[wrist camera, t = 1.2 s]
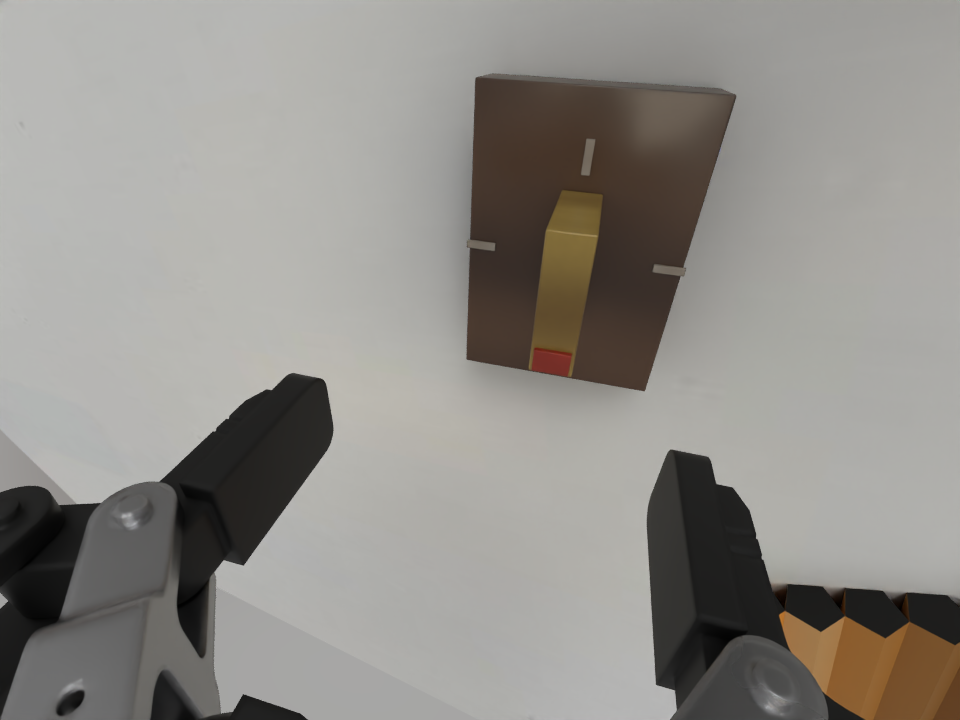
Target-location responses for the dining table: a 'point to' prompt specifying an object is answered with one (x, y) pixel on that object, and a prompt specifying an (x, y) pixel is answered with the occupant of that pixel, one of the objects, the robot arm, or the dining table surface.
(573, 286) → the lock knob
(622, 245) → the panel
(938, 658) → the pan flute
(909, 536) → the dining table surface
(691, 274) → the dining table surface
